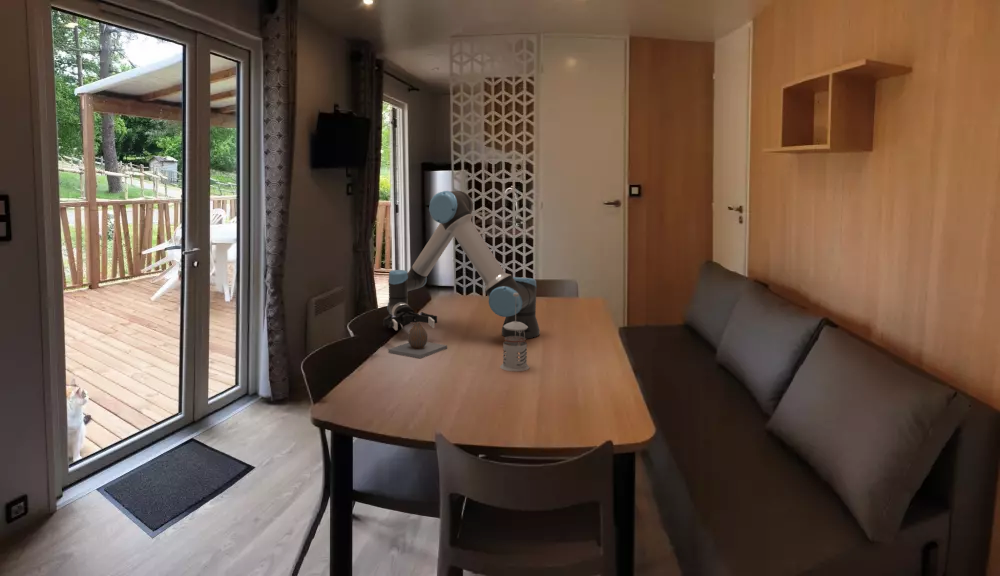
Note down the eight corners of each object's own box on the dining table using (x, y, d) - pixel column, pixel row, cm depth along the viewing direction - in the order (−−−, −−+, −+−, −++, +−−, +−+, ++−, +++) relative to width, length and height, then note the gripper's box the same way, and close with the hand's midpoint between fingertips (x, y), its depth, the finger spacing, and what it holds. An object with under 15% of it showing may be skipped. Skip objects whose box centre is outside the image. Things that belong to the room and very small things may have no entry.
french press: (495, 369, 210) (496, 293, 206) (508, 360, 221) (509, 288, 217) (523, 372, 207) (525, 296, 203) (535, 363, 217) (537, 290, 213)
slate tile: (446, 348, 235) (446, 345, 235) (420, 358, 221) (420, 355, 221) (416, 343, 242) (416, 340, 242) (388, 352, 228) (388, 349, 228)
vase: (423, 350, 227) (423, 326, 226) (405, 348, 229) (405, 324, 227) (430, 345, 234) (429, 321, 233) (412, 344, 235) (411, 320, 234)
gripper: (434, 321, 257) (448, 333, 238) (371, 325, 249) (380, 337, 229) (434, 302, 256) (448, 313, 237) (371, 306, 248) (380, 317, 228)
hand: (415, 325), depth 233 cm, fingers open, 13 cm apart
